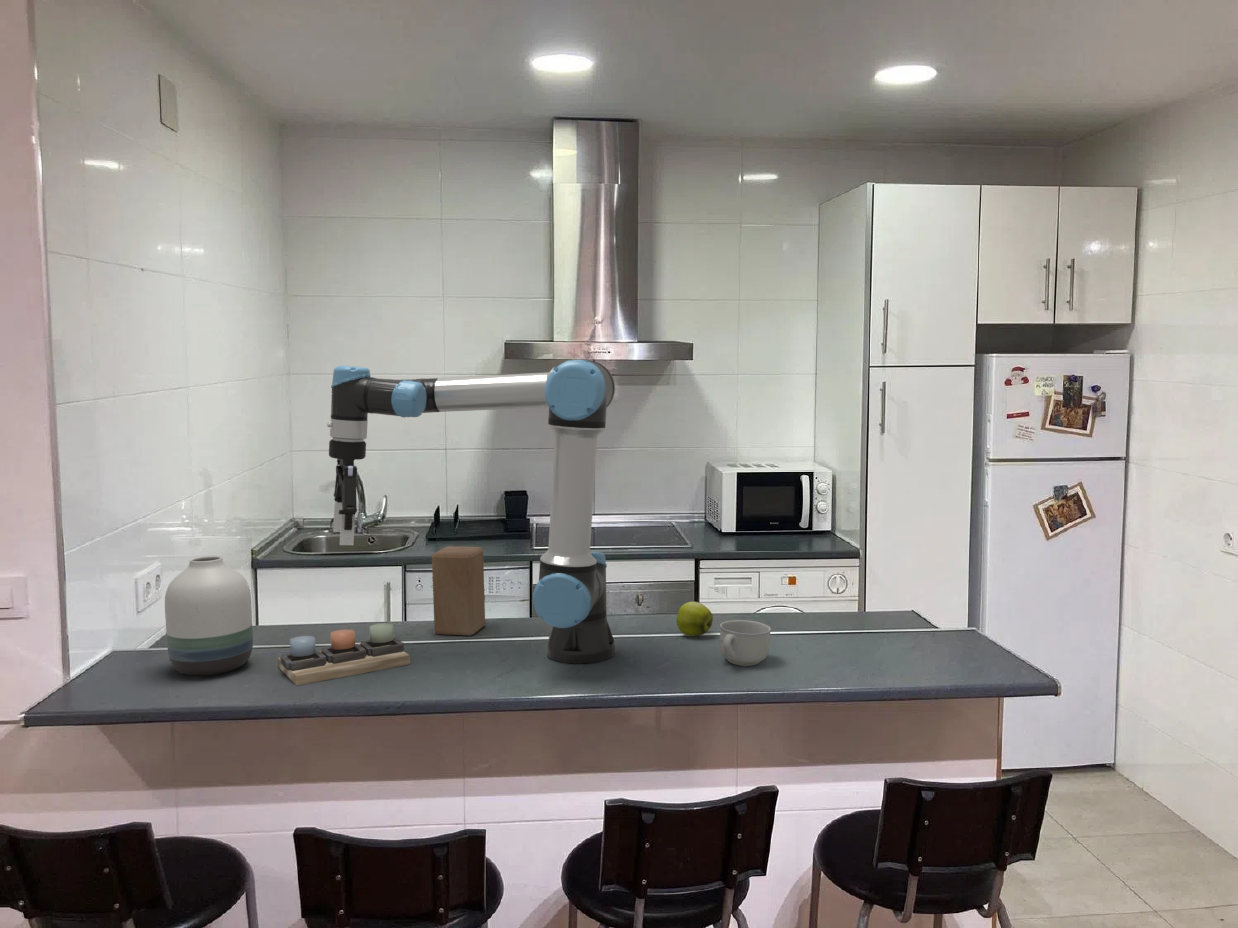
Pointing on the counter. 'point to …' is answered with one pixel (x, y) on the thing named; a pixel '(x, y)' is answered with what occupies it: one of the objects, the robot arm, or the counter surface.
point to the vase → (208, 618)
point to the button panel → (344, 661)
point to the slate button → (302, 646)
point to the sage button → (381, 633)
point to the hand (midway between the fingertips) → (343, 538)
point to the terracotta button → (342, 639)
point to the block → (458, 590)
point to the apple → (694, 619)
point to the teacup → (744, 641)
